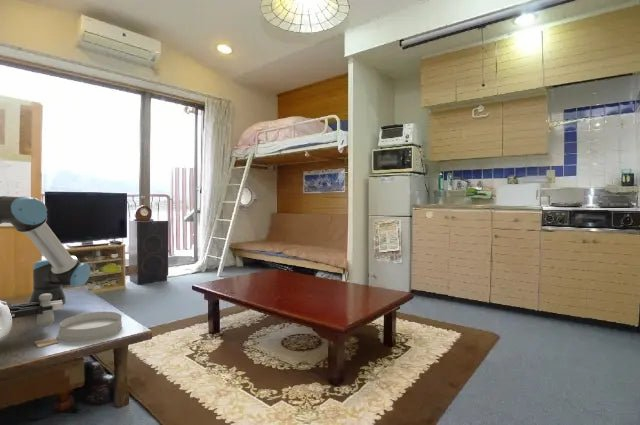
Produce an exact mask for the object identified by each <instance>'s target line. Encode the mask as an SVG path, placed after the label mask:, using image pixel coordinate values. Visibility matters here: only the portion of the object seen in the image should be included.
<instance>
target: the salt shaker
mask: <svg viewBox="0 0 640 425" xmlns="http://www.w3.org/2000/svg"><path fill="white" fill-rule="evenodd" d="M51 299H52V294H49V293H46V294H41V295H40V296H39V301H41V303H40V306H42V307H43V305H46V304H51V301H50V300H51ZM54 320H55V314H54V310H52V311H45V312H43V311H42V314H37V316H36V323H37V326H38V327H41V328H44V327H49V326H50V327H51V326H52V325H53V322H54Z"/></svg>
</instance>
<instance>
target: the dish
mask: <svg viewBox="0 0 640 425" xmlns="http://www.w3.org/2000/svg"><path fill="white" fill-rule="evenodd" d="M122 323H123V321H122V314H120V313H119V312H113V311H93V312H87V313H81V314H76V315H72V316H70V317H67V318H65V319H63V320H62V321H61V322H60V323H59V330H58V337H59V339H61V340H63V341H65V342H66V341H67V342H86V341H94V340H98V339H99V340H100V339H104V338H106V336H107V337H110V336H112V335H114V334H116V333H118V332H120V331H121V330H122V327H123V326H122V325H123V324H122ZM109 335H110V336H109Z"/></svg>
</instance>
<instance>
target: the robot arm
mask: <svg viewBox="0 0 640 425" xmlns="http://www.w3.org/2000/svg"><path fill="white" fill-rule="evenodd" d="M47 212H48V208H47V206H46V205H45V203H44V202H43V201H42V200H40V199H38V198H35V197H30V196H10V195H2V196H1V195H0V225H1V224H11V225H12V226H13V228H14V229H15V230H16V231H17V232H18V233H24V235H26V236H27V237H28V239H29V240H30V241H31V242H32V244H33V245H34V246H35V247H36V248H37V250H38V251H39V252H40V254H42V255H43V257H44V258H45V259H43V260H38V261H35V262H34V264H33V269H32V272H33V273H32V275H33V276H32V277H33V278H32V279H33V280H32V282H33V283H32V284H33V285H32V287H33V288H32V291H31V292H32V293H31V295H30V297H29V300H28V302H23V303H10V304H8V305H7V306H8V307H9V309H10V313H11V316H12V319H17V318H23V317H29V316H36V315H38V314H42V311H43V312H45V311H52V310H53V311H57V310H63V309H64V307H63V305H64V304H65V303H66V302H67V301H66V294H65V292H64V289H63V286H66V287H67V286H68V287H81V286H83V285H85V283H87V282H88V280H89V278H90V276H91V267H90V265H89V264H88V263H85V262H80V260H79V259H78V258H77V256H75V255H71V254H70V253H69V251H68V250H67V249H66V247H65V246H64V245H63V243H62V242H61V241H60V239H59V238H58V237H57V236H56V234H55V233H54V232H53V230H52V228H50V226H49V225H48V224H47V220H48V217H47V216H48V213H47ZM46 293H49V294H52V299H51V300H50V301H51V304H46V305H43V307H42V306H40V303H41V301H39V296H40V295H41V294H46ZM12 319H11V320H12Z"/></svg>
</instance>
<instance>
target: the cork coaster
mask: <svg viewBox="0 0 640 425" xmlns="http://www.w3.org/2000/svg"><path fill="white" fill-rule="evenodd" d="M56 344H59V341H58V340H57V338H55V337H49V338H45V339H42V340H37V341H34V345H36V347H37V348H38V349H39V348H42V347H49V346H52V345H56Z"/></svg>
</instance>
